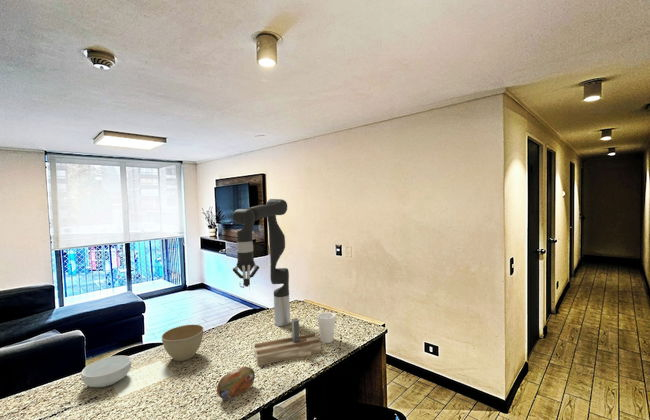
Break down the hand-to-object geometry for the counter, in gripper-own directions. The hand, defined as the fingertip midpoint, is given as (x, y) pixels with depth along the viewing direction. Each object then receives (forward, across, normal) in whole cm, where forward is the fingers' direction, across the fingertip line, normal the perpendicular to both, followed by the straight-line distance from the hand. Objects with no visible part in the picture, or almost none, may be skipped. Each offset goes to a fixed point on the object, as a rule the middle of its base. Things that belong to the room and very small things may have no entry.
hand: (246, 286), depth 146 cm
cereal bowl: (+33, +58, +2) cm, 66 cm away
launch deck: (+33, -17, +7) cm, 38 cm away
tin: (+32, +7, +31) cm, 45 cm away
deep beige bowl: (+33, +30, -8) cm, 45 cm away
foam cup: (+33, -39, +2) cm, 51 cm away
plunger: (+28, -22, +7) cm, 36 cm away
